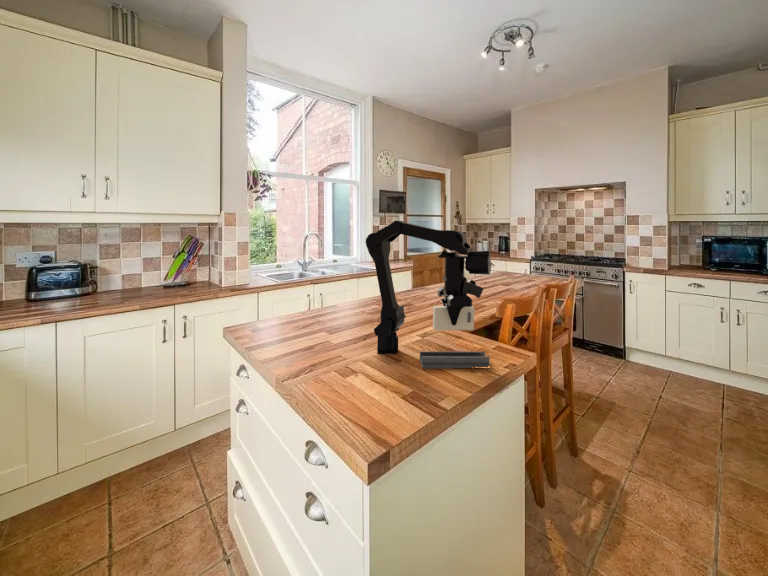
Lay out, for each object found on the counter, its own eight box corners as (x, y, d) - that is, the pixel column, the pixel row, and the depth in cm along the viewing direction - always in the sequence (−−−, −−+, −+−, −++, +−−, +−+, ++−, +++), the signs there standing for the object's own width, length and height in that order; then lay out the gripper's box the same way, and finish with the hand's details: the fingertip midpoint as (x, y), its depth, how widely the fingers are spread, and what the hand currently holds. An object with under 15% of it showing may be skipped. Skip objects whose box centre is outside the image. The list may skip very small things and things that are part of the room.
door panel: (434, 330, 107) (435, 308, 106) (432, 328, 110) (433, 306, 109) (474, 330, 108) (474, 307, 107) (471, 327, 110) (472, 305, 109)
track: (422, 368, 104) (422, 358, 104) (419, 358, 112) (419, 349, 112) (490, 368, 104) (491, 359, 104) (482, 359, 112) (483, 349, 112)
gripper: (491, 276, 97) (489, 332, 100) (472, 269, 116) (470, 316, 118) (451, 277, 97) (449, 332, 99) (438, 269, 115) (437, 316, 118)
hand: (452, 324), depth 109 cm, fingers closed on door panel, 2 cm apart
